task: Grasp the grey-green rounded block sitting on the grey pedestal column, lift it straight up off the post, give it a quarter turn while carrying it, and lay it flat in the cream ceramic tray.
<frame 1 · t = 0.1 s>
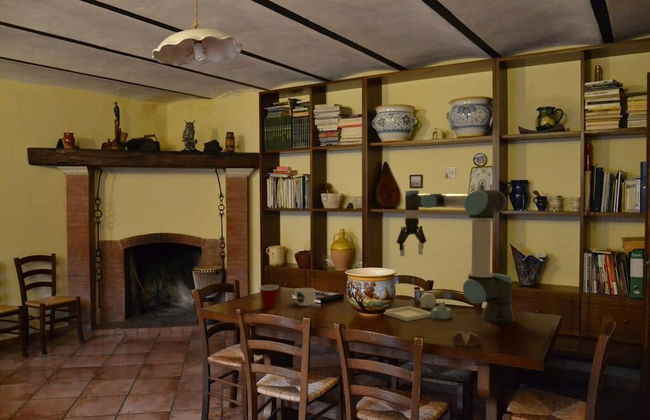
hand: (411, 255, 289), 28 cm above the table, fingers open, 13 cm apart
bread: (466, 344, 217), on the table
tray: (408, 315, 265), on the table
plastic cup: (269, 308, 280), on the table
grey-green rounded block: (441, 316, 261), on the table, touching grey pedestal column
grey pedestal column: (441, 317, 261), on the table
die: (428, 308, 282), on the table
mug: (303, 303, 292), on the table
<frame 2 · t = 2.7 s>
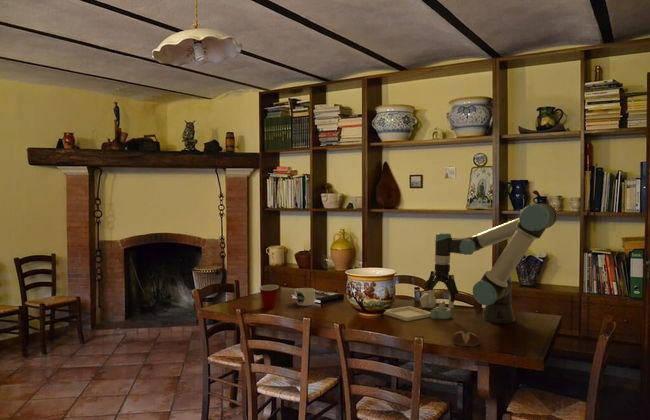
hand: (441, 305, 261), 6 cm above the table, fingers open, 13 cm apart
nothing on the table moved.
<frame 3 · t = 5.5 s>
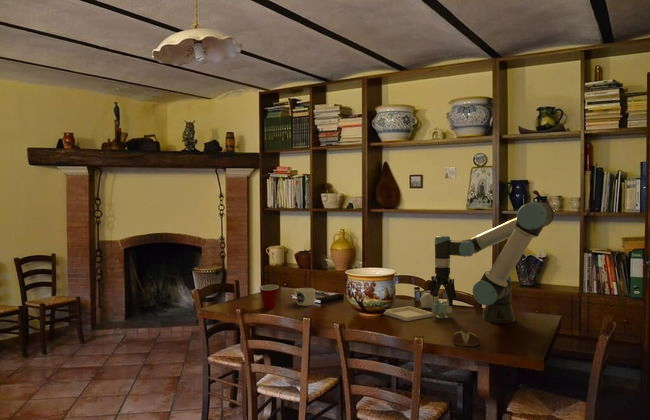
hand: (442, 310, 261), 3 cm above the table, fingers closed on grey-green rounded block, 8 cm apart
grey-green rounded block: (442, 310, 261), point 4 cm above the table, touching gripper
everything else where it was.
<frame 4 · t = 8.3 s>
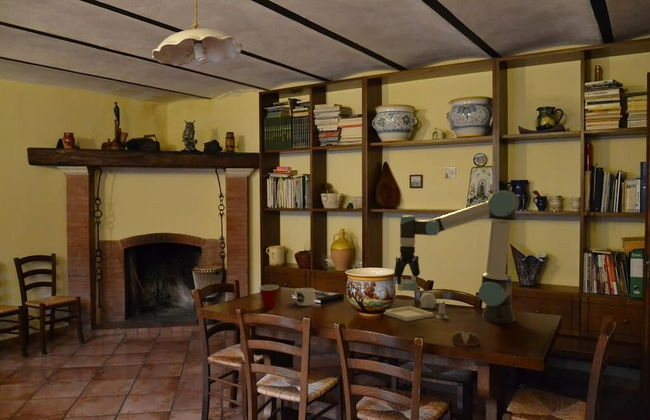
hand: (406, 289, 265), 13 cm above the table, fingers closed on grey-green rounded block, 8 cm apart
grey-green rounded block: (406, 289, 265), point 14 cm above the table, touching gripper
everything else where it was.
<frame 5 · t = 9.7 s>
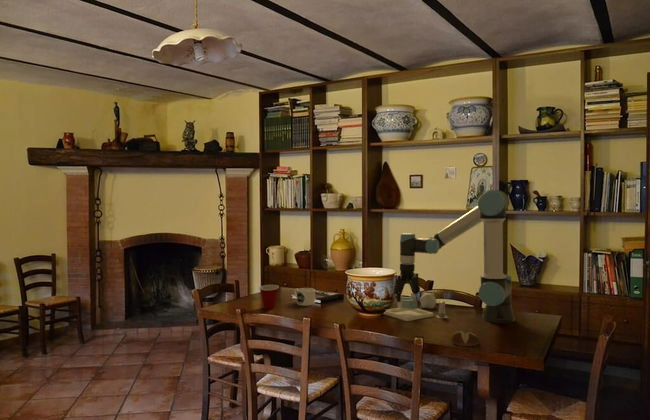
hand: (406, 306, 265), 4 cm above the table, fingers closed on grey-green rounded block, 8 cm apart
grey-green rounded block: (406, 306, 265), point 5 cm above the table, touching gripper
everything else where it was.
when the fingers open (2 cm above the table, at t = 11.1 s): grey-green rounded block drops 1 cm, resting on tray.
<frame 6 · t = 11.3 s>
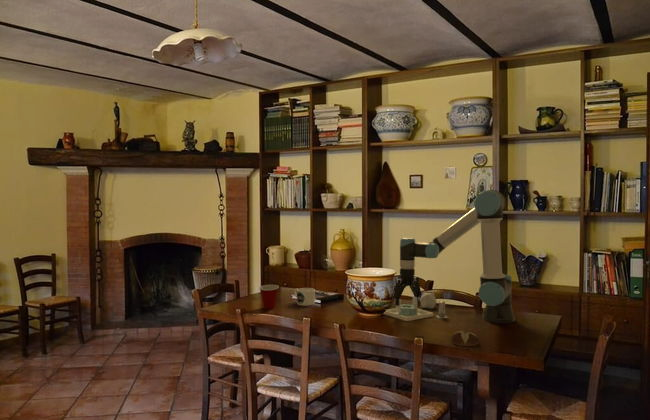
hand: (406, 310, 265), 2 cm above the table, fingers open, 10 cm apart
grey-green rounded block: (406, 314, 266), point 1 cm above the table, touching tray
everything else where it was.
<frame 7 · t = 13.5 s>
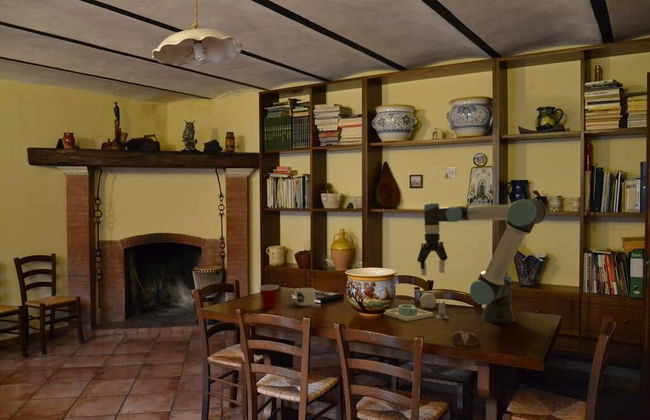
hand: (433, 274, 266), 21 cm above the table, fingers open, 13 cm apart
nothing on the table moved.
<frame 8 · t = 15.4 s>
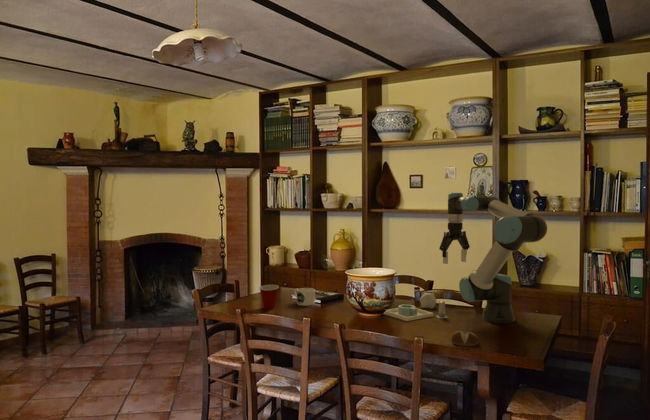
hand: (454, 262, 269), 27 cm above the table, fingers open, 13 cm apart
nothing on the table moved.
at the end: grey-green rounded block inside the target area on the tray (1.0 cm from its centre), point 0.6 cm above the tray's base; grey-green rounded block tilted 0°; the gripper is holding nothing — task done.
